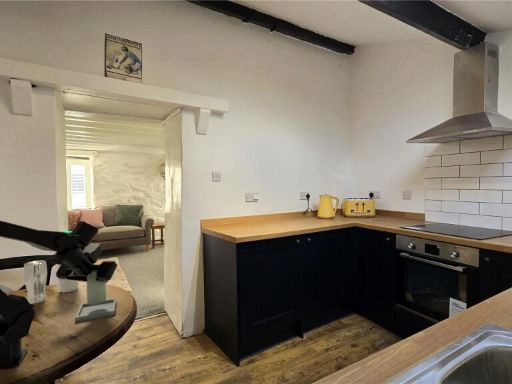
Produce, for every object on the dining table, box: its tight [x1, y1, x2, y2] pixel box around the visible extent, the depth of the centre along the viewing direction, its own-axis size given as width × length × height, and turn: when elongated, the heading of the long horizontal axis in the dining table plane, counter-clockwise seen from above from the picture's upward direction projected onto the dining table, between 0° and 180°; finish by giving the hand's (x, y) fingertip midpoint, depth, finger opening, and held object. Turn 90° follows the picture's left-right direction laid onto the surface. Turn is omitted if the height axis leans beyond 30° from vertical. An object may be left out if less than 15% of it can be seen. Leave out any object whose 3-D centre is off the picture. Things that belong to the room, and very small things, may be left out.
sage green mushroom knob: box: [86, 272, 107, 304], centre depth 97 cm, size 7×7×12 cm
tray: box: [74, 297, 117, 323], centre depth 97 cm, size 11×11×2 cm
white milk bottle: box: [57, 230, 79, 294], centre depth 117 cm, size 7×7×25 cm
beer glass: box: [23, 259, 48, 305], centre depth 106 cm, size 7×7×15 cm
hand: (99, 281), depth 98 cm, fingers closed on sage green mushroom knob, 6 cm apart
